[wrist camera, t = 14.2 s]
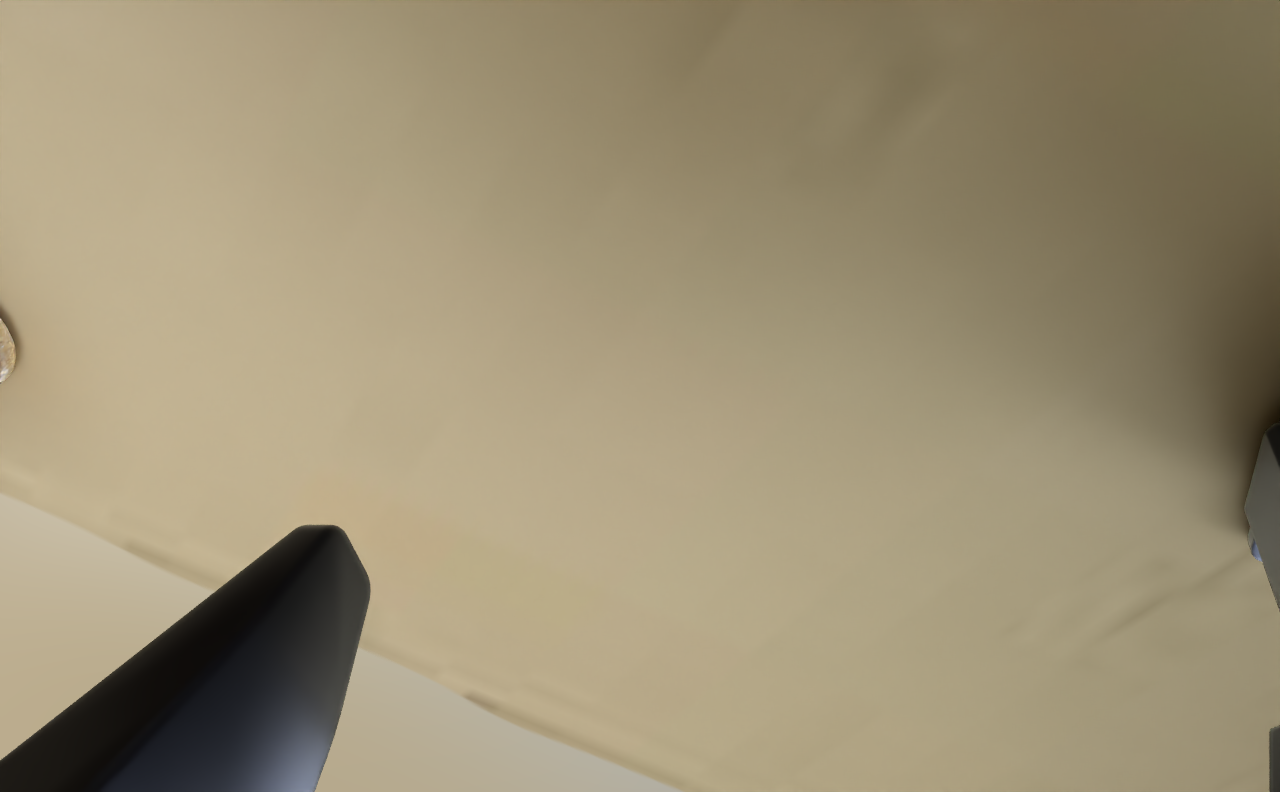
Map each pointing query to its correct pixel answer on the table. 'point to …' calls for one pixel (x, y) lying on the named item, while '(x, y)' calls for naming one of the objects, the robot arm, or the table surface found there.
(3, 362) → the sprinkles bottle
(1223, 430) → the table surface
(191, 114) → the table surface
